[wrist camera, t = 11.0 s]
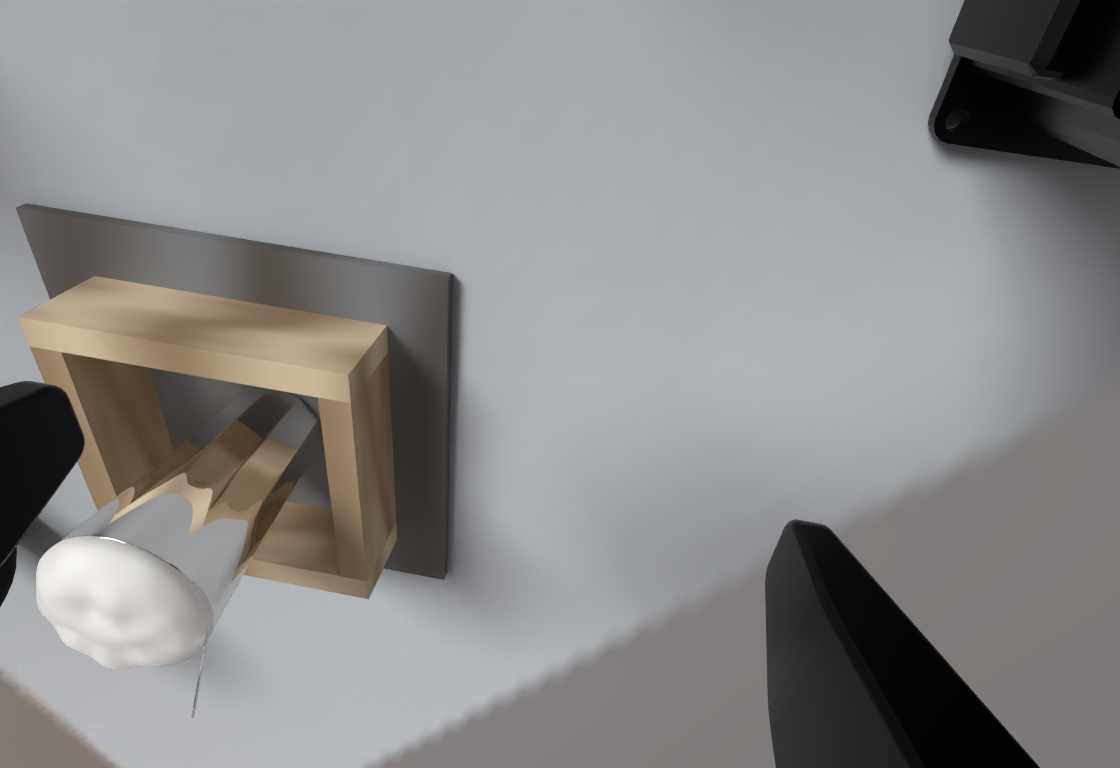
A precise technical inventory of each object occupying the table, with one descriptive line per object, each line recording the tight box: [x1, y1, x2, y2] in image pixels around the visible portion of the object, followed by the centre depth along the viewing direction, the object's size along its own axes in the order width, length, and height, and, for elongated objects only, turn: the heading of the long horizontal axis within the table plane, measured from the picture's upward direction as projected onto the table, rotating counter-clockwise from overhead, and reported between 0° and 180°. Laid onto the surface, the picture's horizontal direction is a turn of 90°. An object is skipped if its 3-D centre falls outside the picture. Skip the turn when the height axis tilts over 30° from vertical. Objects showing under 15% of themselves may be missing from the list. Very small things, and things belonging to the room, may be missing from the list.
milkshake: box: [36, 388, 321, 718], centre depth 19 cm, size 4×5×10 cm
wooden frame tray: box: [16, 204, 452, 599], centre depth 22 cm, size 14×14×3 cm
